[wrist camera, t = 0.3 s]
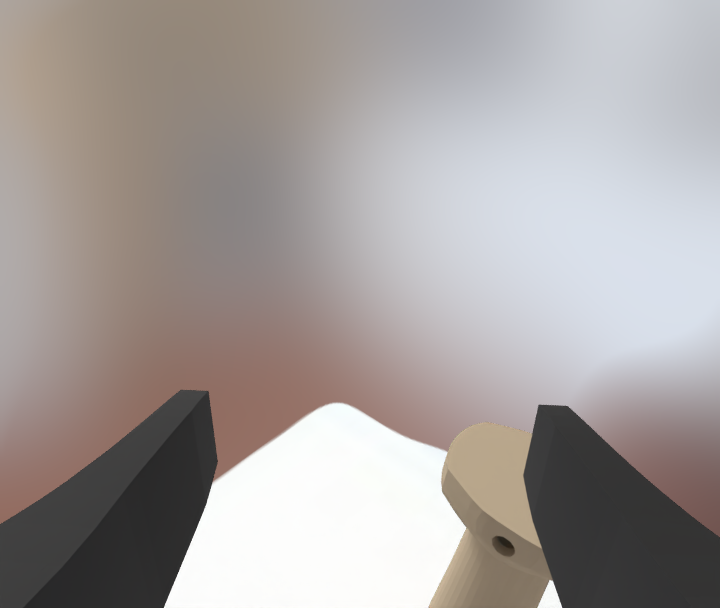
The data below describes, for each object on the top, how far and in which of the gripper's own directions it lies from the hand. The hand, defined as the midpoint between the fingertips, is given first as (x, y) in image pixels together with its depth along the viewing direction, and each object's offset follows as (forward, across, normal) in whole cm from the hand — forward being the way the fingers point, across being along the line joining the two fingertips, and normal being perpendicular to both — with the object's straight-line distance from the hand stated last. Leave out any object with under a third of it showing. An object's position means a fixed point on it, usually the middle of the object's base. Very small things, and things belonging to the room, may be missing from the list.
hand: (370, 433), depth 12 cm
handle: (+5, -4, +21) cm, 22 cm away
